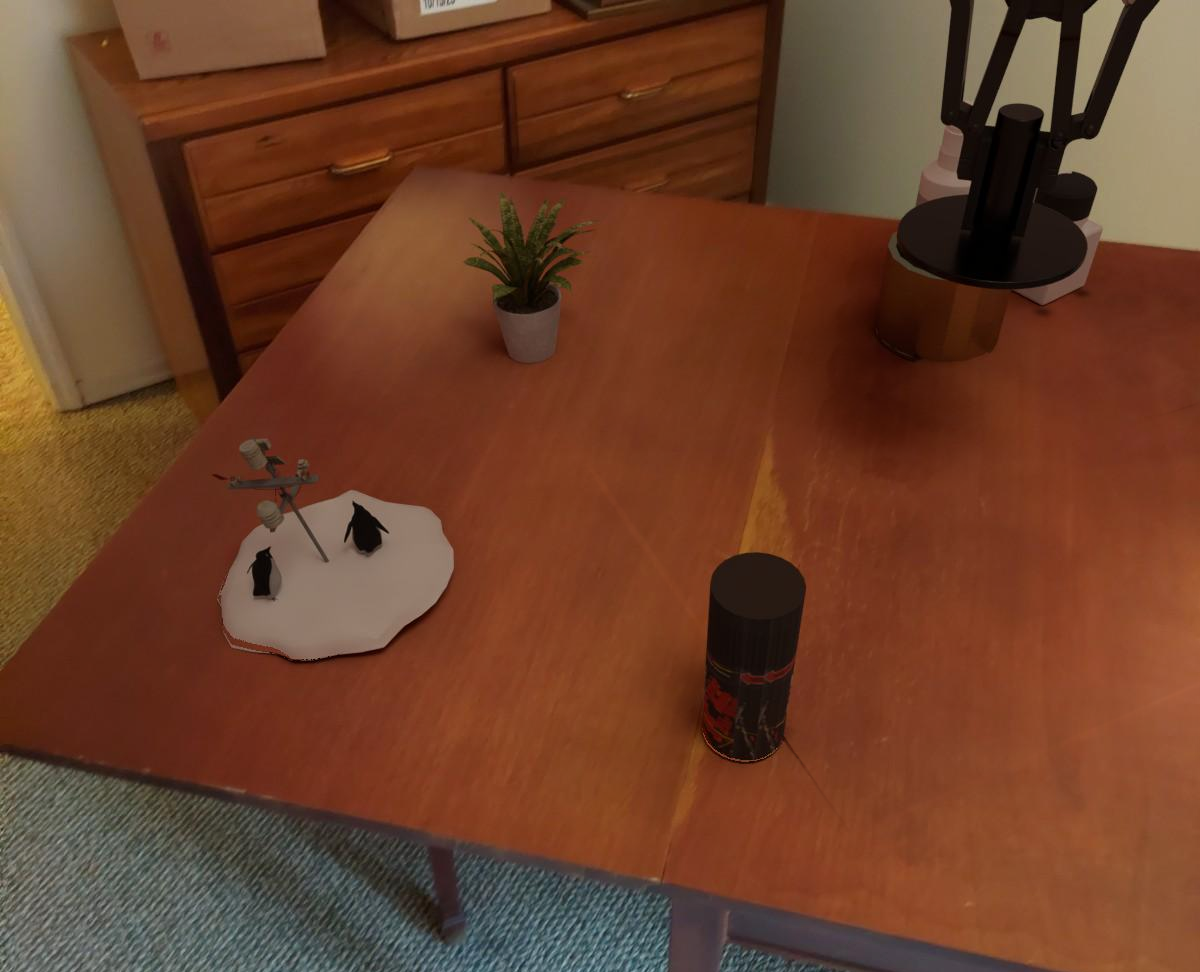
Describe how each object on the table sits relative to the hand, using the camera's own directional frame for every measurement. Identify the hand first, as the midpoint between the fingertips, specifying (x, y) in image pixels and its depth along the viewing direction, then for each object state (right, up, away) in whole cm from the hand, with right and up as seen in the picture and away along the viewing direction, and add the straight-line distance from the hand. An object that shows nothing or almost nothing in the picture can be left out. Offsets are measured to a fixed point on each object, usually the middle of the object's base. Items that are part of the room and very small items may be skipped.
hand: (993, 224), depth 78 cm
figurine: (-51, -26, +11) cm, 58 cm away
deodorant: (-19, -37, -1) cm, 42 cm away
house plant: (-36, -2, +33) cm, 49 cm away
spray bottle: (+9, +10, +43) cm, 45 cm away
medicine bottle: (+20, +7, +40) cm, 45 cm away
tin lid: (0, -1, +1) cm, 1 cm away
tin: (+6, +1, +34) cm, 35 cm away
